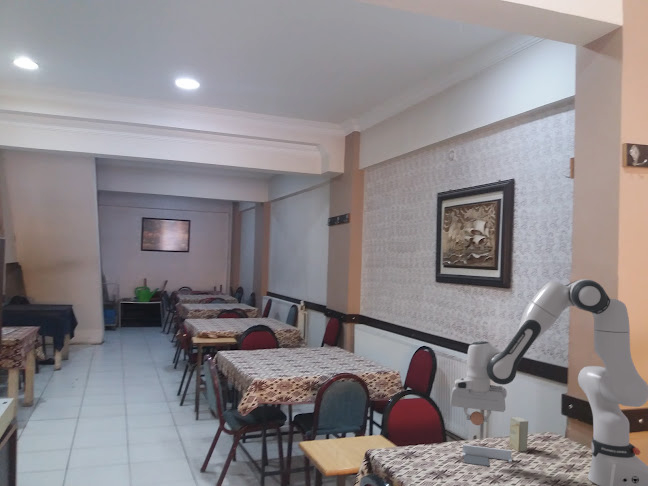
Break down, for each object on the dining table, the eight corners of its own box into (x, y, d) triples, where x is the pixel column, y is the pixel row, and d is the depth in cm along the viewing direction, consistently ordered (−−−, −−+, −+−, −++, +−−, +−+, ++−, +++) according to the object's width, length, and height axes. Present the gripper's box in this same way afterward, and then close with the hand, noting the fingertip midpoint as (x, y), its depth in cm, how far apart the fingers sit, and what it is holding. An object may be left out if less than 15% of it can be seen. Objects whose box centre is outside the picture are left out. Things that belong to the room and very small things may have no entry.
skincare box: (508, 446, 213) (509, 416, 214) (517, 445, 215) (518, 416, 215) (518, 452, 207) (519, 421, 208) (528, 451, 209) (528, 420, 209)
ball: (483, 423, 198) (483, 410, 199) (483, 427, 194) (484, 414, 194) (469, 422, 200) (470, 409, 200) (470, 426, 195) (470, 412, 195)
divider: (510, 457, 200) (510, 448, 201) (511, 462, 196) (511, 453, 196) (462, 451, 205) (462, 442, 205) (462, 456, 200) (462, 446, 200)
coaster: (488, 458, 199) (488, 457, 199) (489, 466, 191) (489, 465, 191) (464, 454, 202) (464, 454, 202) (464, 463, 193) (464, 462, 193)
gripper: (506, 385, 198) (505, 421, 197) (451, 379, 203) (450, 415, 202) (507, 388, 192) (506, 426, 191) (450, 382, 197) (449, 419, 196)
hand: (476, 420), depth 197 cm, fingers closed on ball, 5 cm apart
